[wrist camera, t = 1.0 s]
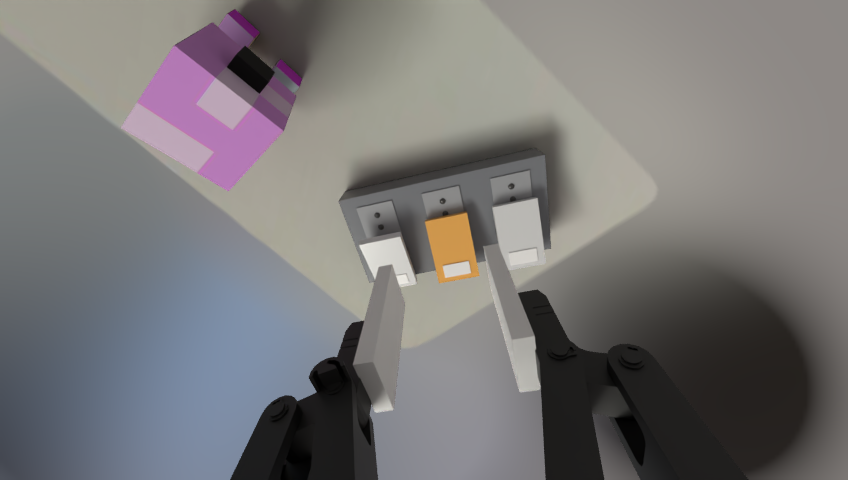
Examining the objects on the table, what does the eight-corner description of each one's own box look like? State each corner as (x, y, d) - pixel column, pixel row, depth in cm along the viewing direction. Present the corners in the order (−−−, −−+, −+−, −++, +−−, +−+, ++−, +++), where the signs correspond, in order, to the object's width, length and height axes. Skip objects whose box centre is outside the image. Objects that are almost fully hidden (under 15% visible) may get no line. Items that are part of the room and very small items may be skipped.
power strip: (345, 191, 41) (336, 203, 37) (535, 148, 38) (547, 156, 35) (373, 268, 47) (368, 285, 43) (542, 235, 44) (552, 251, 40)
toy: (242, -2, 31) (184, 29, 20) (311, 65, 36) (294, 119, 25) (186, 77, 35) (112, 139, 24) (256, 129, 40) (220, 200, 29)
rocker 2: (425, 219, 39) (424, 222, 38) (466, 211, 38) (467, 213, 37) (439, 280, 41) (439, 283, 40) (478, 272, 40) (479, 276, 39)
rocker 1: (360, 240, 38) (358, 245, 37) (400, 231, 38) (400, 237, 37) (380, 285, 43) (380, 291, 42) (417, 278, 43) (417, 284, 42)
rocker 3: (491, 205, 38) (493, 207, 37) (535, 196, 37) (537, 198, 36) (502, 268, 40) (504, 271, 39) (543, 260, 39) (546, 263, 38)
